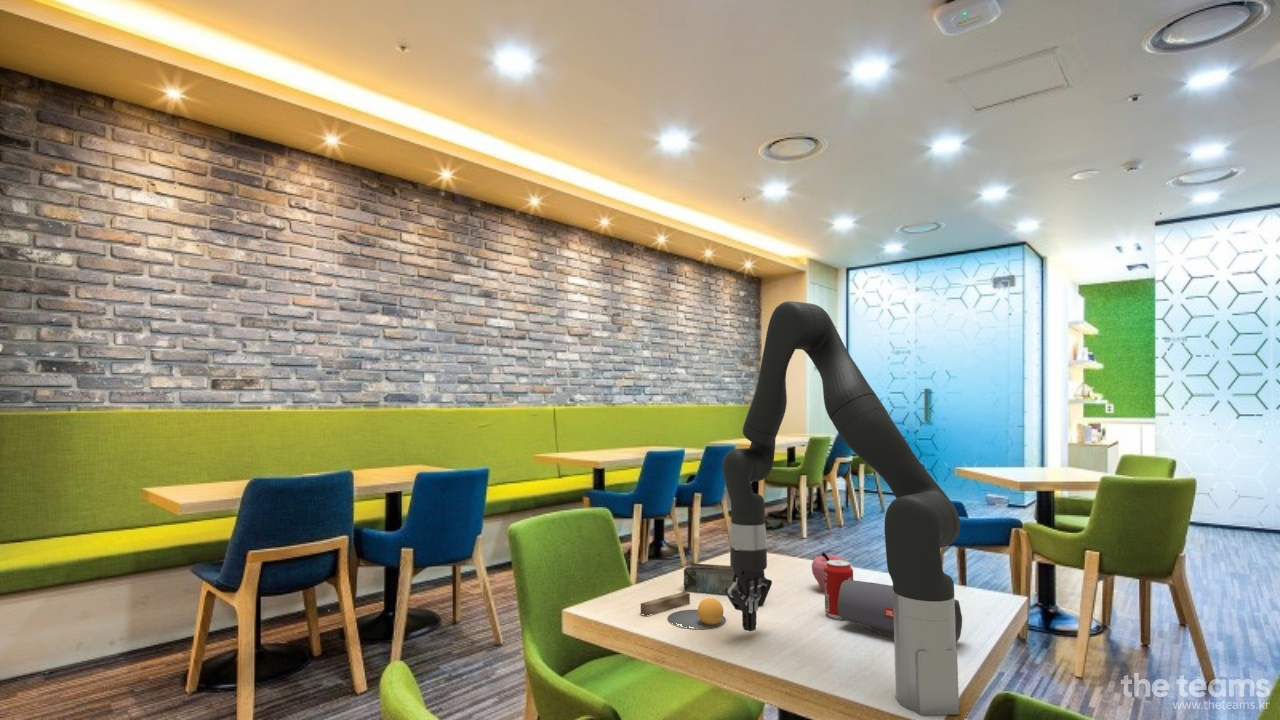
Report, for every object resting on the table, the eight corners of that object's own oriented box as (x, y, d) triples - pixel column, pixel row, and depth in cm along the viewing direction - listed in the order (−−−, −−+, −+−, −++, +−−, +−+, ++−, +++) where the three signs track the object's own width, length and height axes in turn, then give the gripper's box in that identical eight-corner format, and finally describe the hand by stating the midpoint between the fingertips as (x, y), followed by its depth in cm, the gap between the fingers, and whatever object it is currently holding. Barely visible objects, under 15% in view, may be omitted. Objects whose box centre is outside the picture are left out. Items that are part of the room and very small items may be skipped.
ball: (697, 618, 147) (715, 634, 143) (688, 608, 143) (706, 624, 139) (714, 599, 149) (731, 613, 145) (705, 588, 145) (723, 603, 141)
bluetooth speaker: (836, 630, 140) (835, 582, 141) (854, 619, 147) (853, 573, 148) (950, 656, 125) (948, 603, 126) (963, 643, 132) (962, 592, 133)
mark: (730, 629, 141) (730, 628, 141) (669, 629, 140) (669, 628, 140) (721, 610, 154) (721, 609, 154) (665, 610, 153) (665, 609, 153)
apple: (847, 597, 163) (846, 556, 164) (811, 594, 166) (810, 554, 167) (847, 587, 172) (846, 548, 173) (813, 584, 175) (812, 546, 176)
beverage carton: (690, 584, 176) (690, 559, 177) (762, 591, 170) (762, 565, 171) (683, 592, 169) (682, 566, 169) (758, 599, 163) (757, 572, 163)
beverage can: (855, 621, 145) (854, 566, 146) (826, 619, 147) (825, 565, 147) (852, 612, 152) (851, 559, 152) (824, 611, 153) (823, 558, 154)
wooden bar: (683, 602, 160) (683, 591, 160) (689, 604, 158) (689, 593, 159) (640, 614, 151) (640, 603, 151) (646, 616, 149) (646, 605, 149)
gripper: (754, 537, 144) (755, 618, 143) (713, 546, 136) (714, 632, 134) (782, 543, 139) (783, 627, 137) (741, 552, 130) (742, 642, 129)
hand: (749, 629), depth 136 cm, fingers closed
